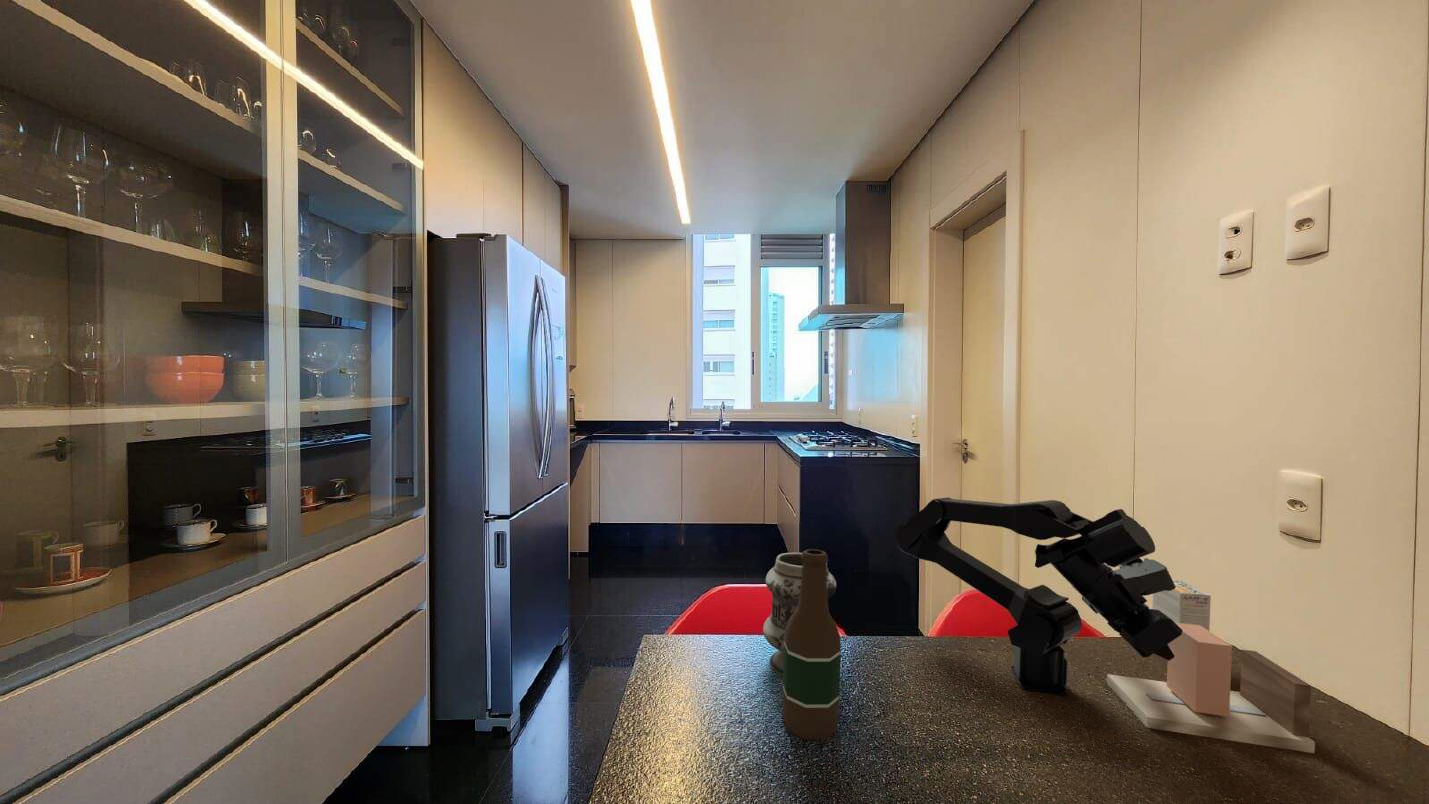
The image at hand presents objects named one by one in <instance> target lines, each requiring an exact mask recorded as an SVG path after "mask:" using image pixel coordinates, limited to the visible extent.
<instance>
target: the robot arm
mask: <svg viewBox="0 0 1429 804" xmlns="http://www.w3.org/2000/svg"><path fill="white" fill-rule="evenodd" d="M951 522H957V523H958V522H959V523H968V524H976V525H982V526H983V525H984V526H989V527H990V526H992V527H1000V528H1004V529H1008V530H1010V531H1012V532H1014V533H1016V534H1018V535H1021V536H1025V537H1027V538H1031V539H1034V540H1038V541H1045V540H1050V539H1054V538H1061V539H1059V540H1056V541H1055V542H1053V543H1051V544H1039V543H1038V544H1037V545H1036V547H1035V551H1034V553H1035V563H1034V567H1036V568H1038V569H1039V568H1042V567H1045V566H1047V565H1049V564H1050V565H1051V566H1052V567H1053V568H1054V569H1055V570H1056V571H1057V572H1058V573H1059V574H1060V575H1061V576H1062V577H1063V578H1064V579H1065V580H1066V581H1067V582H1068V583H1069V584H1070V585H1071V586H1072V588H1074V590H1075V591H1076V592H1077V593H1078V594H1079V595H1081V600H1082V602H1084V603H1085V605H1086V606H1088V607H1089V609H1091V610H1092V611H1093V612H1094V613H1095V614H1096V615H1097V614H1099V615H1100V616H1101V617H1103V619H1105V620H1106V621H1107V625H1108V626H1109V627H1110V628H1111V629H1113V630H1114V631H1115V632H1117V633H1119V634H1118V635H1119V636H1120V637H1121V638H1122V639H1124V641H1125V642H1126V643H1127V644H1128V645H1129V646H1131V648H1133V650H1134V651H1135V652H1136V653H1138V654H1139V656H1141V657H1142V658H1149V657H1151V656H1152V655H1153V654H1154V655H1155V656H1158V657H1161V658H1162V659H1164V660H1167V661H1168V660H1171V659H1173V658H1174V657H1175V656H1174V654H1173V652H1172V651H1171V649H1170V647H1169V646H1168V643H1170V642H1171V641H1173V640H1174V639H1176V638H1177V637H1179V636H1180V635H1182V631H1183V630H1182V629H1181V628H1180V627H1179V626H1178V625H1177V624H1176V623H1175V622H1174V621H1173V620H1172V619H1170V618H1169V617H1168V616H1166V615H1165V614H1163V613H1162V612H1161V611H1159V610H1155V609H1152V608H1149V605H1147V604H1146V603H1147V602H1148V600H1147V599H1146V598H1145V597H1144V596H1146V597H1147V596H1150V595H1153V594H1154V593H1158V592H1162V591H1165V590H1166V591H1171V590H1173V589H1175V588H1176V586H1175V584H1174V582H1173V580H1174V579H1173V578H1172V576H1171V574H1170V571H1169V570H1168V568H1167V566H1166V565H1164V564H1163V563H1161V562H1159V561H1157V560H1155V559H1150V558H1147V557H1146V556H1148V555H1151V554H1153V553H1155V552H1156V546H1155V542H1154V540H1153V538H1152V536H1151V535H1150V533H1149V532H1148V530H1147V529H1146V528H1145V527H1144V526H1142V525H1141V524H1140V523H1138V521H1137V520H1136V519H1135V518H1132V517H1131V516H1129V515H1128V514H1127V513H1126V512H1125V510H1124V509H1122V508H1119V509H1114V510H1112V511H1109V512H1108V513H1106V514H1105V515H1104V516H1103V517H1100V518H1098V519H1096V520H1094V521H1093V520H1090V519H1088V518H1086V517H1084V516H1081V515H1079V514H1078V513H1075V512H1073V511H1072V510H1071V509H1070V508H1069V507H1068V506H1067V505H1066V503H1064V502H1062V501H1060V500H1057V499H1056V500H1055V499H1049V500H1048V499H1047V500H1039V501H1029V502H1020V503H1019V502H1018V503H1003V502H992V501H980V500H979V501H978V500H969V499H968V500H966V499H957V498H956V499H954V498H951V497H947V496H946V497H941V498H940V497H939V498H933V499H932V500H930V501H929V502H928V503H927V504H926V506H924V508H923V509H921V510H920V511H918V512H917V513H916V514H914V515H913V516H912V517H910V518H909V519H908V520H907V521H906V522H905V523H902V524H900V525H898V527H897V529H896V531H895V540H896V545H897V547H898V548H899V550H900V551H901V552H902V553H905V554H906V555H909V556H911V557H914V558H916V559H918V560H923V561H928V562H932V563H935V564H937V566H940V567H942V568H943V569H944V570H945V571H948V572H949V573H951V574H952V575H954V576H955V577H957V578H958V579H960V580H961V581H963V582H964V583H966V584H967V585H969V586H970V587H972V588H974V589H975V590H977V592H979V593H981V594H983V595H984V596H986V597H987V598H989V599H991V600H992V601H994V602H995V603H996V604H998V605H999V606H1000V607H1003V608H1004V609H1006V610H1007V611H1008V613H1009V614H1010V616H1011V617H1012V619H1013V621H1014V623H1016V625H1015V626H1013V627H1011V628H1010V629H1008V630H1007V635H1008V637H1009V638H1008V639H1009V641H1010V644H1011V645H1012V646H1014V654H1013V655H1014V658H1013V660H1014V662H1013V665H1011V666H1010V669H1009V670H1010V672H1011V673H1012V674H1013V676H1014V678H1015V679H1016V682H1017V683H1018V685H1019V686H1020V687H1021V688H1022V689H1025V690H1031V691H1037V692H1038V691H1039V692H1044V693H1052V694H1059V695H1068V689H1066V686H1067V682H1068V659H1067V658H1066V657H1065V650H1064V649H1063V648H1062V647H1061V646H1062V645H1066V644H1068V642H1069V640H1070V639H1071V638H1073V637H1075V636H1077V635H1078V634H1080V632H1081V630H1082V626H1083V621H1082V618H1081V615H1080V614H1079V610H1078V609H1077V608H1076V607H1075V606H1074V605H1073V604H1072V603H1070V602H1068V601H1069V597H1066V596H1064V595H1063V596H1062V595H1059V594H1058V593H1056V592H1055V591H1053V589H1051V588H1050V587H1048V586H1046V585H1045V584H1039V585H1037V586H1035V587H1032V588H1027V587H1024V586H1023V585H1021V584H1019V583H1018V582H1016V581H1014V580H1013V579H1011V578H1009V577H1007V576H1006V575H1004V574H1002V573H1001V572H999V571H998V570H996V569H995V568H992V566H990V565H988V564H986V563H984V562H983V561H981V560H979V559H978V558H976V557H974V556H973V555H972V554H969V553H967V551H965V550H963V549H961V548H959V547H958V546H956V545H955V544H953V543H952V541H950V539H949V537H948V535H947V534H946V533H945V532H946V531H947V530H948V529H949V527H950V524H951ZM1079 535H1080V536H1079ZM1075 536H1077V537H1075ZM1072 537H1075V538H1072ZM1068 538H1070V539H1068ZM1143 557H1144V558H1143ZM1145 557H1146V558H1145ZM1141 558H1143V559H1144V560H1142V559H1141ZM1116 567H1119V568H1118V569H1115V570H1114V569H1112V568H1116Z"/></svg>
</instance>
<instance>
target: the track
mask: <svg viewBox="0 0 1429 804" xmlns="http://www.w3.org/2000/svg"><path fill="white" fill-rule="evenodd" d="M1240 665H1241V666H1240V683H1239V684H1240V685H1239V686H1240V688H1239V689H1240V690H1239V691H1236V690H1235V691H1234V690H1230V708H1229V717H1227V716H1220V715H1213V714H1207V713H1200V712H1195V711H1194V710H1193V709H1192V708H1190V707H1189V706H1188V705H1187V704H1186V703H1185V702H1184V701H1183V700H1182V699H1180V698H1179V697H1178V696H1177V695H1176V694H1175V693H1174V692H1173V691H1172V690H1171V689H1169V688H1168V687H1167V681H1159V680H1153V679H1145V678H1140V677H1130V676H1123V675H1116V674H1106V684H1107V685H1108V687H1109V688H1110V689H1111V688H1112V689H1111V690H1112V691H1113V693H1115V694H1116V696H1118V697H1119V699H1120V700H1121V701H1122V702H1123V703H1124V702H1125V703H1126V704H1125V703H1124V704H1125V705H1126V707H1128V709H1129V710H1131V712H1132V711H1133V712H1132V713H1133V714H1134V715H1135V716H1136V717H1137V719H1138V720H1139V721H1140V722H1141V723H1142V724H1143V725H1144V726H1145V727H1146V728H1148V729H1154V730H1160V731H1165V732H1166V731H1167V732H1174V733H1180V734H1187V735H1193V736H1199V737H1200V736H1201V737H1205V738H1206V737H1207V738H1212V739H1219V740H1226V741H1231V742H1239V743H1246V744H1251V745H1252V744H1253V745H1257V746H1258V745H1259V746H1265V747H1272V748H1276V749H1278V748H1279V749H1284V750H1292V751H1297V752H1303V753H1304V752H1305V753H1311V754H1315V749H1316V742H1315V741H1314V740H1313V739H1312V738H1310V737H1309V733H1310V715H1311V714H1310V713H1311V712H1310V711H1311V709H1310V708H1311V690H1312V685H1311V684H1309V683H1308V682H1306V681H1305V680H1303V679H1301V678H1300V677H1297V675H1295V674H1293V673H1292V672H1290V671H1288V670H1287V669H1286V668H1283V667H1282V666H1279V665H1278V663H1276V662H1274V661H1272V660H1271V659H1269V658H1268V657H1266V656H1264V655H1262V654H1261V653H1259V652H1258V651H1256V650H1252V649H1251V650H1249V649H1241V664H1240Z"/></svg>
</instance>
